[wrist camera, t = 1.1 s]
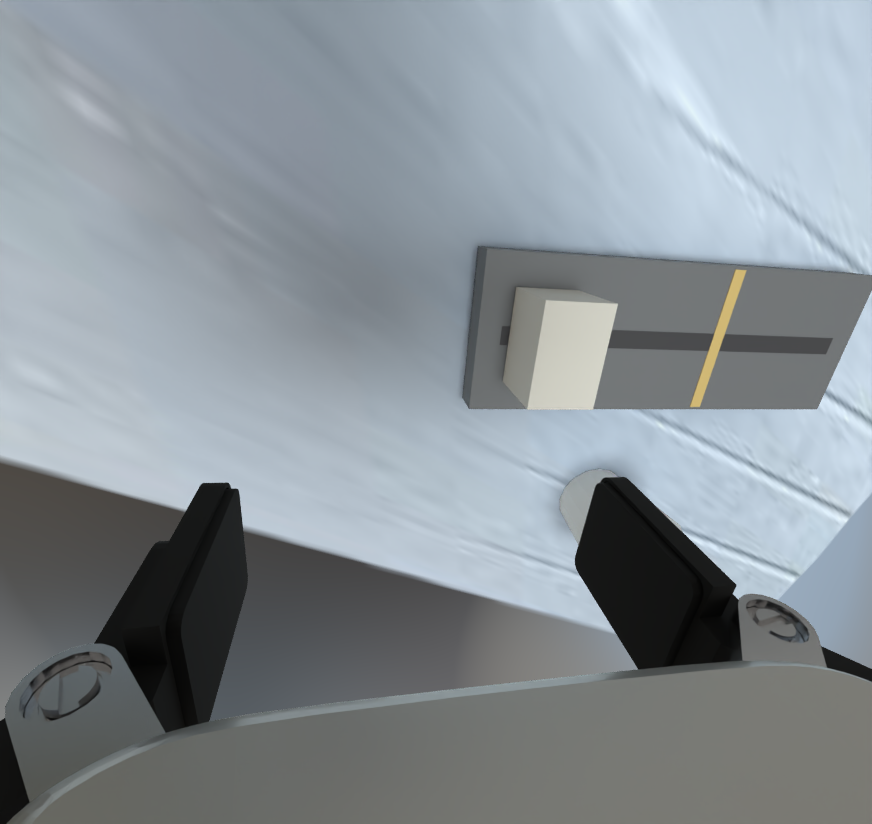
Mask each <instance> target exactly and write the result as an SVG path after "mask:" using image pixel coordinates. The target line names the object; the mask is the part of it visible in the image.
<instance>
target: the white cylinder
mask: <svg viewBox="0 0 872 824" xmlns="http://www.w3.org/2000/svg"><path fill="white" fill-rule="evenodd" d="M605 477H618V476H617V475H615V474H614V473H613V472H611V471H608V470H603V469H595V470H590V471H586V472H584V473H582V474H580V475H579V476H577V477H575V478H574V479H573V480H572V481H571V482H570V483H569V484H568V485H567V486H566V487H565V489H564V491H563V493H562V495H561V497H560V511H561V513H562V515H563V517H564V518H565V520H566V522H567V524H568V526H569V528H570V530H571V532H572V534H573V536H574V537H575V539H576V541H577V543H578V545H579V542H580V538H581V535H582V531H583V528H584V524H585V521H586V517H587V514H588V510H589V507H590V503H591V500H592V496H593V492H594V489H595V486H596V484H597V483H600V482H601V480H602V479H603V478H605ZM658 509H659V508H658ZM659 510H660V509H659ZM660 511H661V510H660ZM661 512H662V511H661ZM662 513H663V514H664V515H665V516H666V517H667V518H668V519H669V520H670V521H671V522H672V523H673V524H674V525H676V526H677V527H678V528H679V529H680V530H681V531H682V529H681V526H680V525H679V524H678V523H676V522H675V521H674V520H673V519H671V518H670V517H669V516H667V515H666V514H665V513H664V512H662Z"/></svg>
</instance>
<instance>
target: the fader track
mask: <svg viewBox="0 0 872 824" xmlns="http://www.w3.org/2000/svg"><path fill="white" fill-rule="evenodd" d="M516 287H528V288H546V289H564V290H579V291H582V292H585V293H588V294H591V295H594V296H597V297H599V298H602V299H605V300H608V301H611V302H614V303H617V304H618V306H617V310H616V315H615V319H614V323H613V327H612V332H611V336H610V340H609V344H608V348H607V353H606V357H605V361H604V365H603V370H602V374H601V378H600V382H599V386H598V391H597V395H596V399H595V403H594V407H593V409H817V408H818V406H819V404H820V402H821V399H822V397H823V395H824V393H825V391H826V389H827V386H828V384H829V382H830V380H831V378H832V376H833V373H834V371H835V369H836V367H837V365H838V363H839V360H840V358H841V356H842V354H843V352H844V349H845V347H846V345H847V343H848V341H849V339H850V336H851V334H852V332H853V330H854V328H855V326H856V323H857V321H858V319H859V317H860V315H861V313H862V310H863V308H864V306H865V304H866V302H867V300H868V297H869V295H870V293H871V291H872V275H864V274H856V273H846V272H832V271H818V270H804V269H790V268H776V267H762V266H748V265H734V264H720V263H705V262H691V261H677V260H663V259H649V258H635V257H621V256H607V255H593V254H579V253H564V252H550V251H536V250H522V249H508V248H494V247H480V246H478V255H477V265H476V274H475V284H474V293H473V303H472V312H471V322H470V331H469V341H468V350H467V359H466V369H465V378H464V388H463V397H462V398H463V399H464V401H465V403H466V404H467V406H468V408H469V409H526V408H525V406H524V405H523V404H522V403H521V402H520V401H519V400H518V398H517V397H516V396H515V395H514V394H513V393H512V392H511V391H510V389H509V388H508V387H507V386H506V385H505V384H504V383H503V376H504V369H505V362H506V355H507V348H508V341H509V334H510V327H511V320H512V313H513V306H514V299H515V292H516Z"/></svg>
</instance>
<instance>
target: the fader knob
mask: <svg viewBox="0 0 872 824" xmlns="http://www.w3.org/2000/svg"><path fill="white" fill-rule="evenodd" d="M617 306H618V304H617V303H614V302H611V301H608V300H605V299H602V298H599V297H597V296H594V295H591V294H588V293H585V292H582V291H579V290H564V289H546V288H528V287H516V292H515V299H514V306H513V313H512V320H511V327H510V334H509V341H508V348H507V355H506V362H505V369H504V376H503V383H504V384H505V385H506V386H507V387H508V388H509V389H510V391H511V392H512V393H513V394H514V395H515V396H516V397H517V398H518V400H519V401H520V402H521V403H522V404H523V405H524V406H525V408H526V409H527V410H593V407H594V403H595V399H596V395H597V391H598V386H599V382H600V378H601V374H602V370H603V365H604V361H605V357H606V353H607V348H608V344H609V340H610V336H611V332H612V327H613V323H614V319H615V315H616V310H617Z"/></svg>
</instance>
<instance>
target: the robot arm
mask: <svg viewBox="0 0 872 824" xmlns="http://www.w3.org/2000/svg"><path fill="white" fill-rule="evenodd" d="M575 566H576V569H577V571H578V573H579V575H580V576H581V578H582V579H583V581H584V583H585V584H586V586H587V587H588V589H589V591H590V592H591V594H592V596H593V597H594V599H595V600H596V602H597V604H598V605H599V607H600V608H601V610H602V612H603V613H604V615H605V616H606V618H607V620H608V621H609V623H610V624H611V626H612V628H613V629H614V631H615V633H616V634H617V636H618V637H619V639H620V640H621V642H622V643H623V645H624V647H625V649H626V650H627V652H628V653H629V655H630V657H631V658H632V660H633V661H634V663H635V665H636V666H637V668H638V670H630V671H620V672H610V673H601V674H591V675H581V676H572V677H563V678H553V679H544V680H535V681H526V682H517V683H507V684H498V685H488V686H480V687H471V688H461V689H452V690H443V691H434V692H426V693H418V694H409V695H399V696H391V697H382V698H373V699H365V700H356V701H347V702H339V703H331V704H323V705H316V706H308V707H300V708H293V709H285V710H278V711H270V712H262V713H255V714H248V715H243V716H237V717H232V718H226V719H221V720H215V721H209V720H210V717H211V713H212V709H213V706H214V702H215V699H216V695H217V692H218V688H219V685H220V681H221V677H222V674H223V670H224V667H225V663H226V660H227V657H228V653H229V649H230V646H231V642H232V639H233V635H234V632H235V628H236V625H237V621H238V618H239V614H240V611H241V607H242V604H243V600H244V596H245V593H246V589H247V581H248V574H247V563H246V554H245V544H244V535H243V525H242V515H241V506H240V496H239V491H238V489H231V487H230V484H229V483H202V484H201V485H200V487H199V489H198V491H197V492H196V494H195V496H194V498H193V500H192V501H191V503H190V505H189V507H188V509H187V510H186V512H185V514H184V516H183V517H182V519H181V521H180V523H179V525H178V526H177V528H176V530H175V532H174V534H173V535H172V537H171V539H170V541H159V542H157V543H155V544H154V546H153V547H152V548H151V550H150V551H149V553H148V555H147V556H146V558H145V560H144V561H143V563H142V565H141V567H140V568H139V570H138V571H137V573H136V575H135V576H134V578H133V580H132V582H131V583H130V585H129V587H128V588H127V590H126V591H125V593H124V595H123V597H122V598H121V600H120V601H119V603H118V605H117V606H116V608H115V610H114V612H113V613H112V615H111V616H110V618H109V620H108V621H107V623H106V625H105V627H104V628H103V630H102V632H101V633H100V635H99V637H98V638H97V640H96V642H95V643H94V644H86V645H82V646H78V647H74V648H70V649H69V650H66V651H63V652H61V653H59V654H56V655H54V656H53V657H51V658H49V659H48V660H46V661H45V662H43V663H41V664H40V665H38V666H37V667H36V668H35V669H33V670H32V671H31V672H30V673H29V674H28V675H26V676H25V677H24V678H23V679H22V680H21V682H20V683H19V684H18V685H17V686H16V688H15V689H14V690H13V692H12V693H11V695H10V697H9V700H8V702H7V704H6V706H5V718H4V719H3V720H1V721H0V824H872V669H870V668H868V667H866V666H864V665H861V664H859V663H857V662H855V661H853V660H850V659H848V658H846V657H844V656H841V655H839V654H837V653H835V652H833V651H830V650H828V649H826V648H824V647H822V646H821V645H820V641H819V638H818V635H817V633H816V631H815V629H814V628H813V627H812V625H811V624H810V623H809V622H808V621H807V620H806V619H805V618H804V617H803V616H802V615H800V614H799V613H798V612H797V611H795V610H794V609H792V608H791V607H789V606H787V605H786V604H784V603H782V602H780V601H778V600H775V599H773V598H770V597H767V596H764V595H758V594H747V595H743V596H742V597H741V598H739V600H738V599H737V598H736V597H735V596H734V595H733V592H734V590H735V587H736V584H735V583H734V582H733V581H732V580H731V579H730V578H729V577H728V576H727V575H726V574H725V573H724V572H723V571H722V570H721V569H720V568H719V567H717V566H716V565H715V564H714V563H713V562H712V561H711V560H710V559H709V558H708V557H707V556H706V555H705V554H704V553H703V552H702V551H701V550H700V549H699V548H698V547H697V546H696V545H695V544H694V543H693V542H692V541H691V540H690V539H689V538H688V537H687V536H686V535H685V534H684V533H683V532H682V531H681V530H680V529H679V528H678V527H677V526H676V525H674V524H673V523H672V522H671V521H670V520H669V519H668V518H667V517H666V516H665V515H664V514H663V513H662V512H661V511H660V510H659V509H658V508H657V507H656V506H655V505H654V504H653V503H652V502H651V501H650V500H649V499H648V498H647V497H646V496H645V495H644V494H643V493H642V492H641V491H640V490H639V489H638V488H637V487H636V486H635V485H634V484H632V483H631V482H630V481H629V480H628V479H627V478H625V477H605V478H603V479H602V480H601V482H600V483H597V484H596V486H595V489H594V492H593V496H592V500H591V503H590V507H589V510H588V514H587V517H586V521H585V524H584V528H583V531H582V535H581V538H580V542H579V546H578V549H577V553H576V556H575Z"/></svg>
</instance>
